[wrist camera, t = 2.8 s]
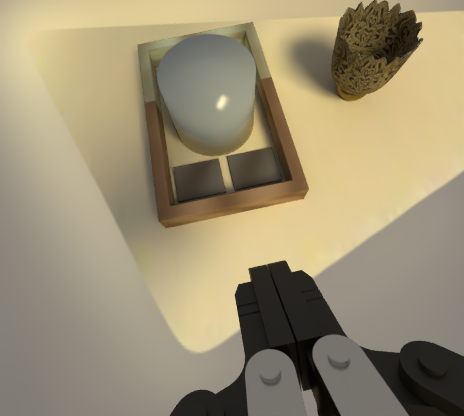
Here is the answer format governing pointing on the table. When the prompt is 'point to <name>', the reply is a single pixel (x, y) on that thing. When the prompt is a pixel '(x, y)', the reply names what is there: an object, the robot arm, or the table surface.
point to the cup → (372, 47)
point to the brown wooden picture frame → (241, 165)
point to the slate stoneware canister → (209, 92)
